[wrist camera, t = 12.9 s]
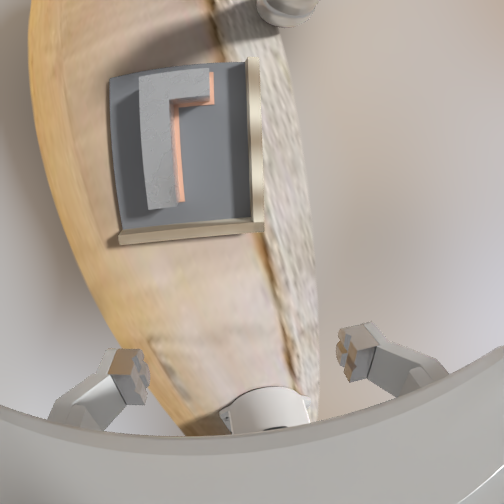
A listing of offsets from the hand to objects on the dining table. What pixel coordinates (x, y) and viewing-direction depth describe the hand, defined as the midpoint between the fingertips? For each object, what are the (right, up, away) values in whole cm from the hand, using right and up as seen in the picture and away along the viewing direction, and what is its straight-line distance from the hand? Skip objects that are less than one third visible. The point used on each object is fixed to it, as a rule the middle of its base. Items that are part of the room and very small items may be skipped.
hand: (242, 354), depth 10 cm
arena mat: (-7, +16, +19) cm, 26 cm away
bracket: (-8, +17, +17) cm, 25 cm away
